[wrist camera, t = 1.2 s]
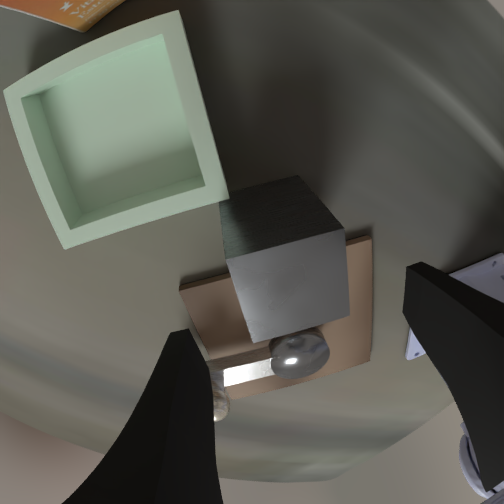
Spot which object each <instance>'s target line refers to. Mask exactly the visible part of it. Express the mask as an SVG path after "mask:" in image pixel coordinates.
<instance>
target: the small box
mask: <svg viewBox="0 0 504 504" xmlns="http://www.w3.org/2000/svg"><path fill="white" fill-rule="evenodd" d="M124 1H125V0H0V7H4V8H8V9H12V10H15V11H19V12H22V13H25V14H29V15H32V16H35V17H38V18H42V19H45V20H48V21H51V22H54V23H57V24H59V25H62V26H65V27H68V28H71V29H74V30H77V31H79V32H82V33H84V32H86V31H88V30H89V29H90V28H91V27H92V26H93V25H94V24H96V23H97V22H98V21H99V20H101V19H102V18H103V17H104V16H105V15H106V14H108V13H109V12H110V11H112V10H113V9H114V8H115V7H117V6H118V5H120V4H121V3H122V2H124Z"/></svg>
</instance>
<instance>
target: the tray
mask: <svg viewBox="0 0 504 504" xmlns="http://www.w3.org/2000/svg"><path fill="white" fill-rule="evenodd" d="M3 92H4V96H5V100H6V103H7V107H8V110H9V114H10V117H11V120H12V124H13V127H14V130H15V133H16V136H17V139H18V142H19V145H20V148H21V151H22V153H23V156H24V159H25V162H26V164H27V167H28V170H29V172H30V175H31V177H32V180H33V182H34V185H35V187H36V190H37V192H38V194H39V197H40V199H41V201H42V204H43V206H44V208H45V210H46V213H47V215H48V217H49V219H50V221H51V223H52V226H53V228H54V230H55V232H56V234H57V236H58V238H59V240H60V242H61V244H62V246H63V248H64V250H65V249H68V248H71V247H74V246H76V245H79V244H82V243H85V242H88V241H91V240H94V239H97V238H100V237H103V236H106V235H109V234H112V233H115V232H118V231H122V230H125V229H128V228H131V227H134V226H137V225H141V224H144V223H147V222H150V221H153V220H157V219H160V218H163V217H167V216H170V215H173V214H177V213H180V212H184V211H187V210H191V209H194V208H198V207H201V206H205V205H208V204H212V203H215V202H219V201H223V200H226V199H230V198H229V193H228V188H227V183H226V179H225V175H224V172H223V168H222V165H221V161H220V157H219V154H218V150H217V146H216V143H215V139H214V135H213V132H212V128H211V124H210V121H209V117H208V113H207V110H206V106H205V102H204V98H203V95H202V91H201V87H200V84H199V80H198V76H197V73H196V69H195V65H194V61H193V58H192V54H191V50H190V47H189V43H188V39H187V35H186V32H185V28H184V24H183V20H182V18H181V15H180V13H179V10H176V11H172V12H169V13H166V14H162V15H159V16H156V17H153V18H150V19H147V20H144V21H141V22H138V23H136V24H133V25H130V26H127V27H125V28H122V29H120V30H117V31H115V32H112V33H110V34H107V35H105V36H103V37H100V38H98V39H96V40H93V41H91V42H89V43H87V44H85V45H82V46H80V47H78V48H76V49H74V50H72V51H70V52H68V53H66V54H64V55H62V56H60V57H58V58H56V59H55V60H53V61H51V62H49V63H47V64H45V65H44V66H42V67H40V68H38V69H37V70H35V71H33V72H32V73H30V74H28V75H27V76H25V77H23V78H22V79H20V80H18V81H17V82H15V83H14V84H12V85H11V86H9V87H8V88H6V89H5V90H3Z"/></svg>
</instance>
